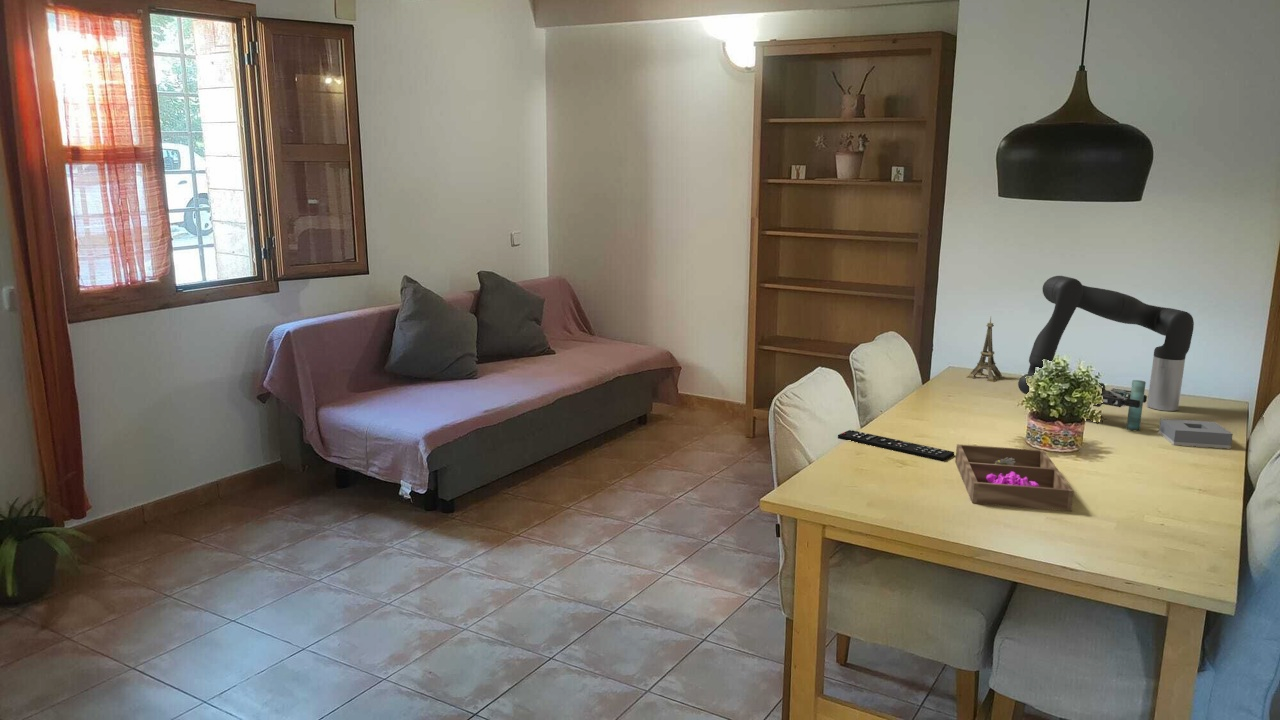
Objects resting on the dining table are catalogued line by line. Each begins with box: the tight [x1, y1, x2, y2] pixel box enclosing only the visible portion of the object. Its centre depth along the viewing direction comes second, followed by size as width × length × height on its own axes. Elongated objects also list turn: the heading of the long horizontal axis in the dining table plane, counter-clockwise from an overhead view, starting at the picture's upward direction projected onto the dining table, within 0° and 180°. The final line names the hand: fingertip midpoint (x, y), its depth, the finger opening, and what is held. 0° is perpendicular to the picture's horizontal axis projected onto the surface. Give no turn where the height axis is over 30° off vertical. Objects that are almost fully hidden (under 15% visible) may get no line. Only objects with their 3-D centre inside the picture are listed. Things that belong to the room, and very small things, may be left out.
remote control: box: [837, 429, 955, 463], centre depth 265 cm, size 8×32×2 cm, turn 50°
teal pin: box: [1125, 379, 1147, 431], centre depth 286 cm, size 4×4×15 cm
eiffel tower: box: [966, 317, 1005, 383], centre depth 352 cm, size 11×11×25 cm
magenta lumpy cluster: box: [986, 471, 1039, 487], centre depth 225 cm, size 12×10×7 cm
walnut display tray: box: [954, 443, 1075, 512], centre depth 234 cm, size 32×22×5 cm
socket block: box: [1158, 418, 1233, 450], centre depth 276 cm, size 13×15×4 cm
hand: (1143, 401), depth 284 cm, fingers open, 8 cm apart
